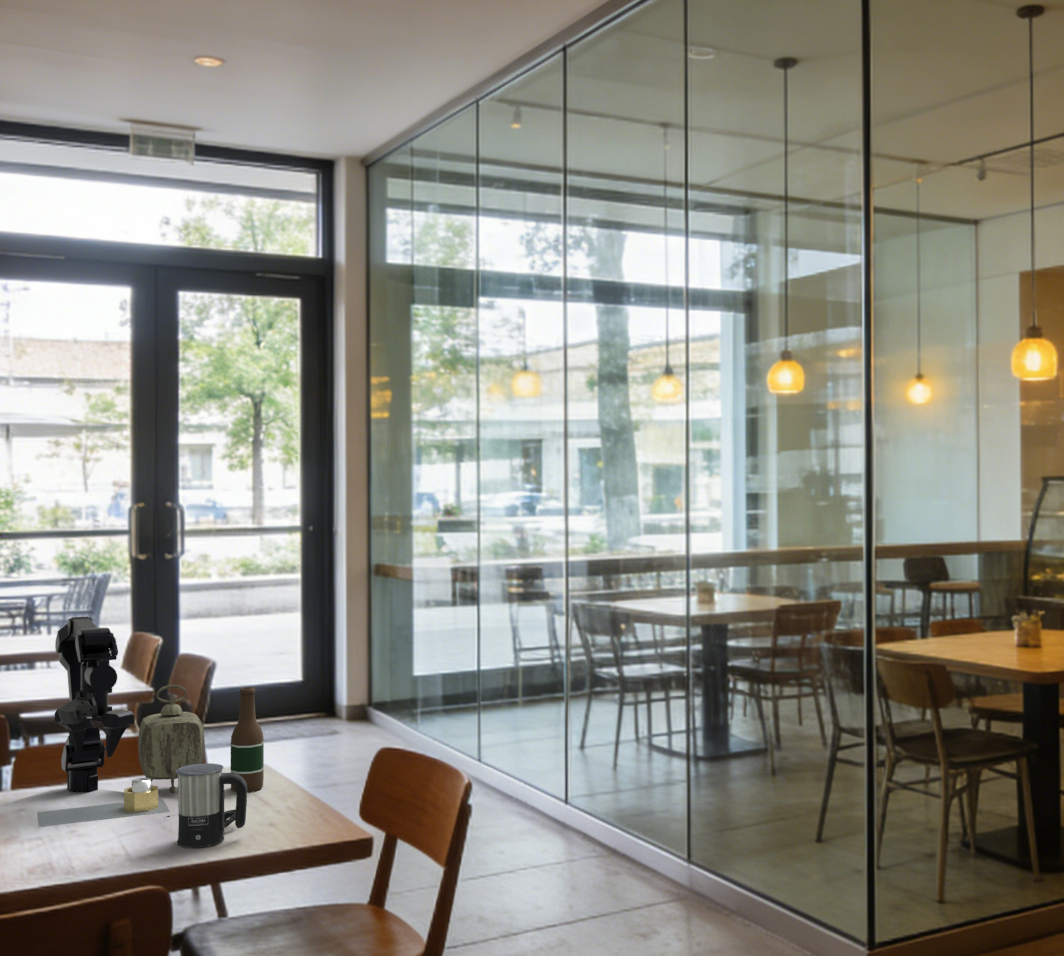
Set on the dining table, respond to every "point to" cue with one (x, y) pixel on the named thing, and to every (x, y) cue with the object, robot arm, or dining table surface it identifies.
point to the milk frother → (207, 804)
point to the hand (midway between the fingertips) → (94, 754)
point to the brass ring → (140, 800)
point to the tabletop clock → (170, 741)
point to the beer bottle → (248, 744)
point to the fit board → (100, 809)
